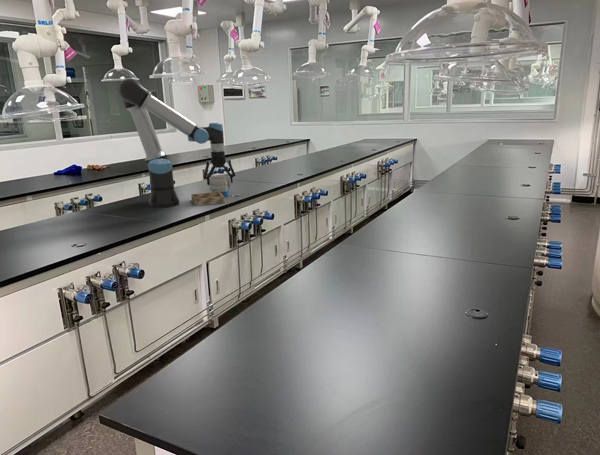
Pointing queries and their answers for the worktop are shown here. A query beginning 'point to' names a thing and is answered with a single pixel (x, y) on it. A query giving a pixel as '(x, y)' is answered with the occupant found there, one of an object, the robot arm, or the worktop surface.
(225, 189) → the ink box
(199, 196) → the maple tray
